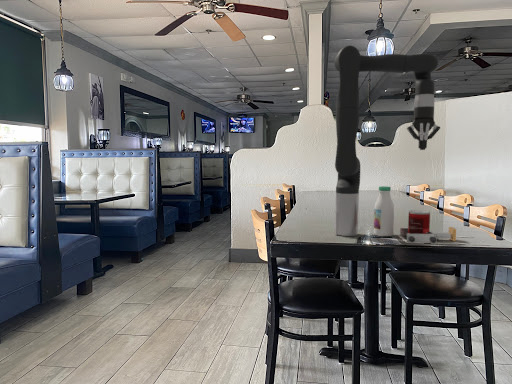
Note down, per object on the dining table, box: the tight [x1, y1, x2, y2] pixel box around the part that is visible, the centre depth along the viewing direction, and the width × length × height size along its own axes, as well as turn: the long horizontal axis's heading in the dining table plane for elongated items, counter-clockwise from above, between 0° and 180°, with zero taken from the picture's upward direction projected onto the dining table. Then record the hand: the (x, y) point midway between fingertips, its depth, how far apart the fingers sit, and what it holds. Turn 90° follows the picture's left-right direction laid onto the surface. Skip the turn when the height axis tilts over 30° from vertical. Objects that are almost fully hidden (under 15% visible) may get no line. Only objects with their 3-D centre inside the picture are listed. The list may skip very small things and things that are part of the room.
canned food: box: [407, 209, 431, 234], centre depth 151 cm, size 8×8×11 cm
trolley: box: [398, 226, 457, 243], centre depth 151 cm, size 18×15×4 cm
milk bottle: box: [373, 185, 395, 237], centre depth 160 cm, size 8×8×20 cm
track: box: [397, 234, 490, 246], centre depth 150 cm, size 29×15×1 cm, turn 82°
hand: (422, 149), depth 159 cm, fingers closed
